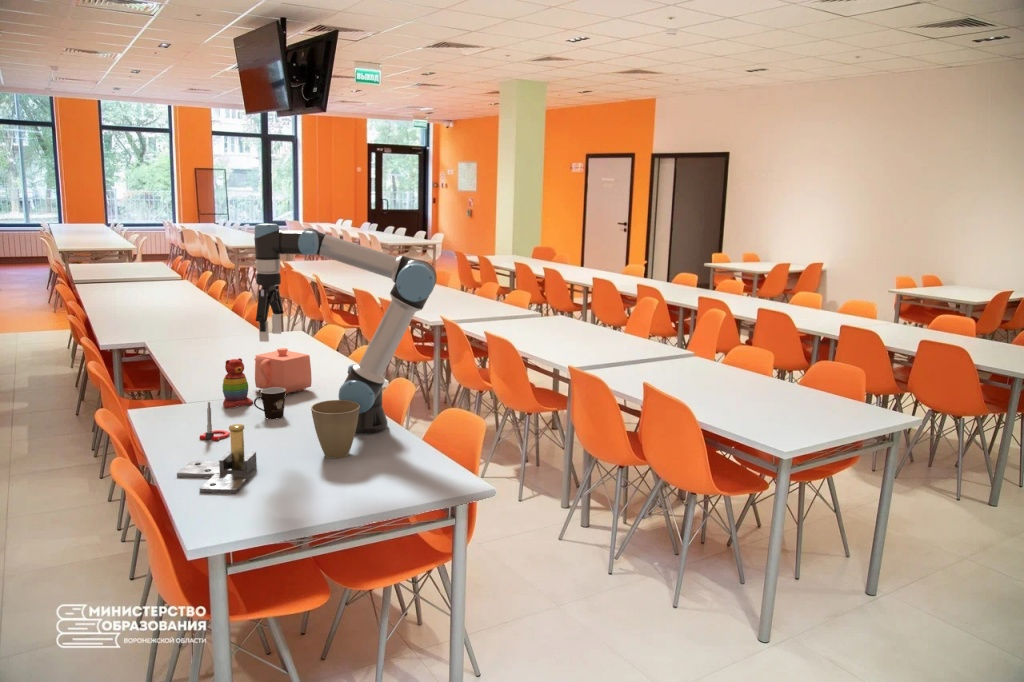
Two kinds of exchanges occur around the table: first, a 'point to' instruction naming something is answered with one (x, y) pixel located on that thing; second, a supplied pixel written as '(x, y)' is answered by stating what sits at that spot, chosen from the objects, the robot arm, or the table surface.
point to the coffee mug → (272, 402)
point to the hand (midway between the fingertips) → (270, 337)
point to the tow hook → (210, 434)
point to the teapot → (283, 370)
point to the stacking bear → (235, 385)
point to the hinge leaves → (221, 473)
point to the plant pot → (335, 426)
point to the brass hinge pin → (237, 445)
